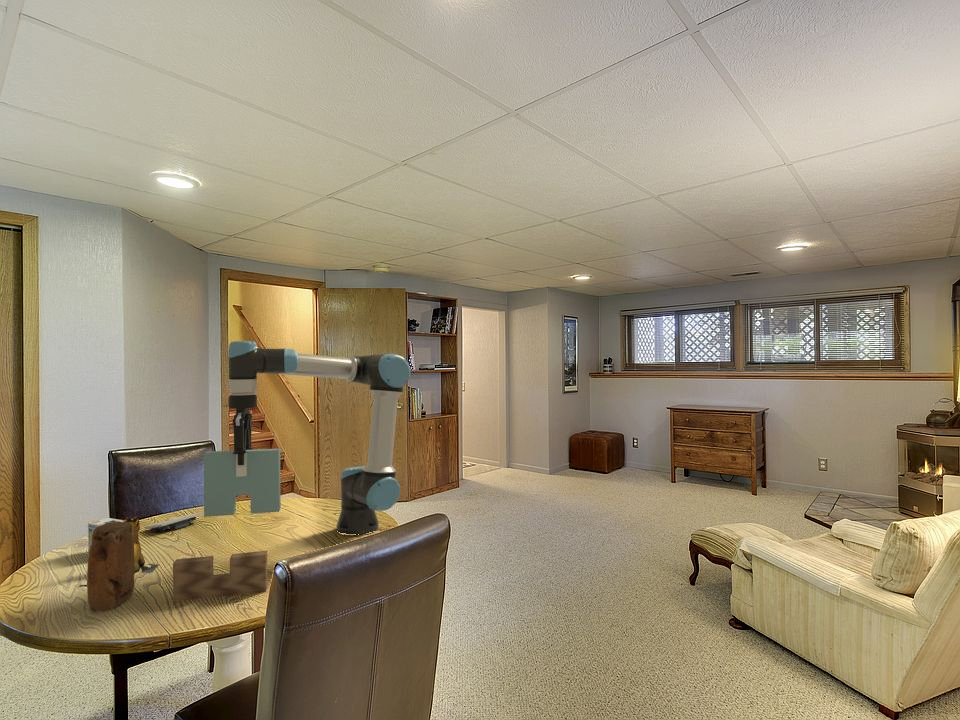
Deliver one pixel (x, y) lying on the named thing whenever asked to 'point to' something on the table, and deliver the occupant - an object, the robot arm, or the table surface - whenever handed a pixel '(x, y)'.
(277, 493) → the teal slotted plate
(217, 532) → the table surface
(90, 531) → the light bulb box
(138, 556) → the stuffed giraffe
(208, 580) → the walnut slotted board
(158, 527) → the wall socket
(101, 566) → the block
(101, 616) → the table surface
